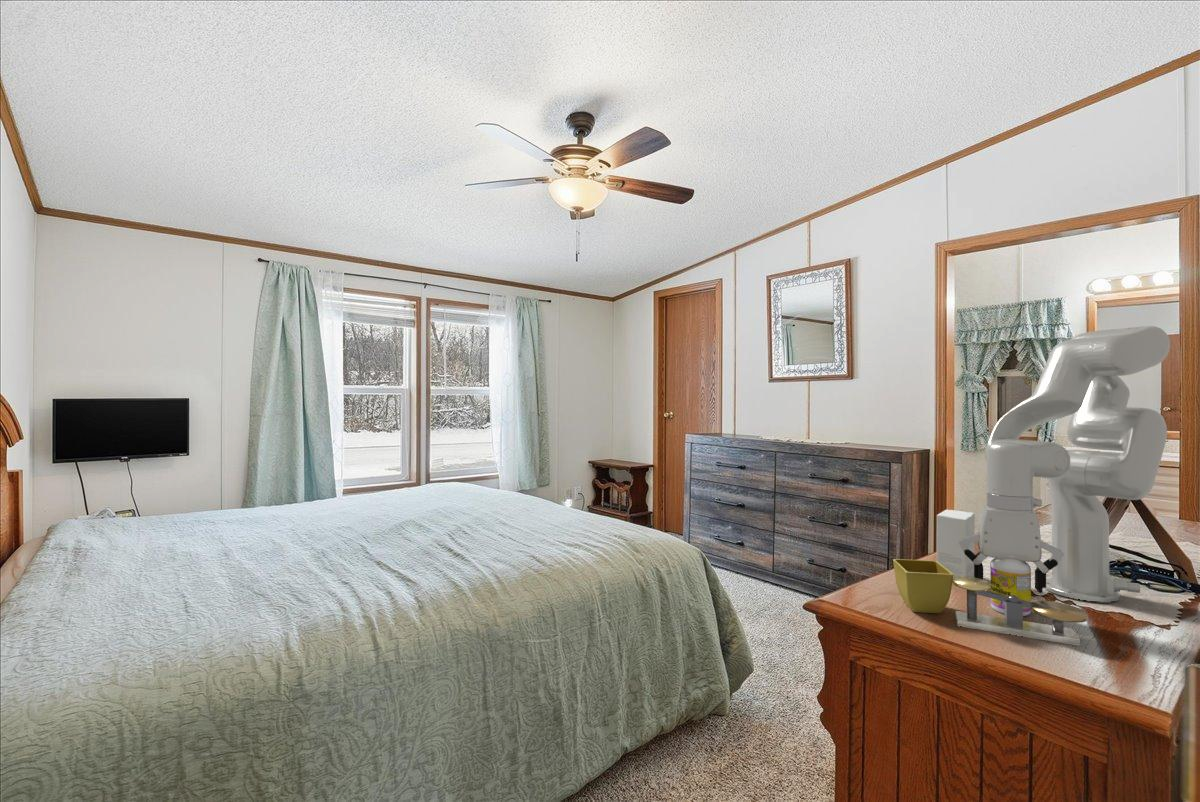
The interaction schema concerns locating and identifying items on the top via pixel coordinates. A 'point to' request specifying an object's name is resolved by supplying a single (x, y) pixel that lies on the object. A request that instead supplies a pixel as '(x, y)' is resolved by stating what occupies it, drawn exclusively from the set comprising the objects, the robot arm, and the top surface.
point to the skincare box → (955, 541)
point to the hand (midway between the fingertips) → (1008, 586)
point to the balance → (1018, 615)
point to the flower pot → (923, 584)
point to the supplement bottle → (1010, 581)
